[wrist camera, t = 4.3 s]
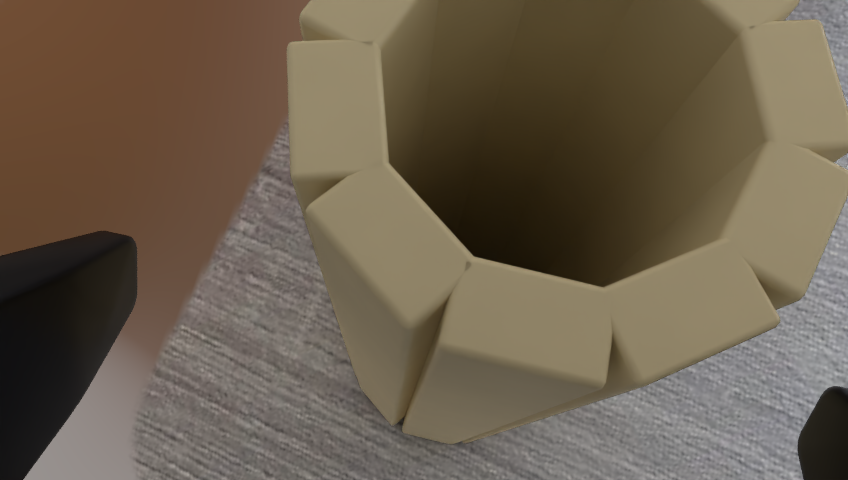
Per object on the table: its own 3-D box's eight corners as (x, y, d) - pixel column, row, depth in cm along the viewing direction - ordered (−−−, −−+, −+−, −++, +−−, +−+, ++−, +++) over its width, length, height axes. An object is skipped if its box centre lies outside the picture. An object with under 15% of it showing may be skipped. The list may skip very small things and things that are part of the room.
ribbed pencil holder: (526, 463, 17) (848, 450, 5) (328, 415, 17) (199, 293, 5) (559, 276, 19) (868, -66, 7) (377, 233, 19) (363, -180, 7)
